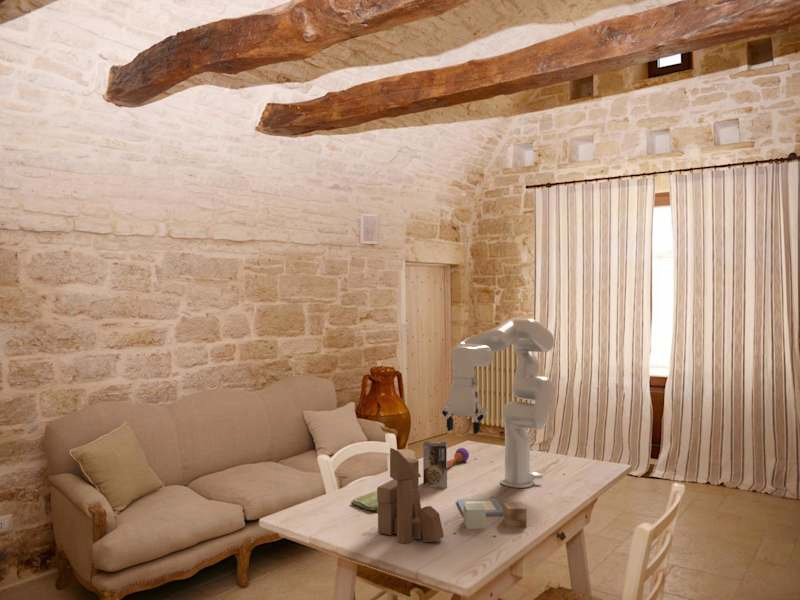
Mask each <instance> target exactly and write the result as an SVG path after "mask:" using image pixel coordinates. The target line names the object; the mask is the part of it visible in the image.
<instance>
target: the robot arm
mask: <svg viewBox="0 0 800 600" xmlns="http://www.w3.org/2000/svg"><path fill="white" fill-rule="evenodd" d="M552 333H553V332H551V331H550V330H549V329H548V328H547V327H545V326H544V325H543V324H542V323H540V322H539V321H537V320H536V319H533V318H523V317H522V318H519V317H518V318H516V317H515V318H514V317H513V318H509V319H506V320H505V321H504V322H502V323H500V324H499V325H497V326H496V327H495V328H493V329H491V330H488V331H484V332H481V333H478V334H475V335H472V336H469V337H467V338H464V339H463V340H461V341H460V342H459V343H458V344H456V345H455V346H454V348H453V349H452V380H451V381H452V382H451V383H452V385H450V387H449V394H448V401H446V402H445V403H443V404H440V405H439V408H440V410H441V413H442V415H443V416H444V418H445V420H446V429H447V432H450V431H452V430H454V418H453V416H455V415H456V416H464V417H465V416H466V417H471V418H472V419H473V421H474V422H473V423H472V424H473V427H472V428H473V429H472V430H473V431H472V433H473V434H474V435H477V434H479V432H480V430H481V429H480V428H481V421H482V420H483V419H484V418H485V417H486V414H487V413H488V409H487V408H485V407H484V406H482V405H481V404H480V400H479V392H478V387H477V386H476V385H478V383H479V380H478V379H476V377H475V367H487V366H489V365H490V364H491V363H492V361H493V360H494V353H497V352H502V351H504V350H506V349H508V348H509V347H510V346H512V347H513V349H514V351H515V354H516V358H517V366H516V371H515V375H514V379H513V382H512V383H513V384H512V395H513V397H515V398H518V399H520V400H525V401H526V400H527V401H534V403H531V402H525V401H517V400H516V401H515V400H514V401H513V400H511V401H508V402H506V403H505V404H504V406H503V408H502V413H501V414H502V420H503V426H504V476H503V477H501V478H500V483H501V484H502V485H503V486H506V487H510V488H515V489H519V488H520V489H521V488H522V489H523V488H530V487H533V486H534V484H535V481H534V480H536V479H537V480H542V479H543V474H542V473H538V472H532V471H531V439H530V438H531V437H530V434H529V431H528V430H527V429H530V430H538V431H539V430H543V429H544V428H545V427H546V426H547V424H548V420H549V415H550V411H551V407H552V401H553V396H554V385H553V382H552V380H551V379H550V378H549V377H545V376H539V370H540V363H539V360H538V358H537V355H536V354H535V353H548V352H550V351H551V350H552V349H553V348H554V346H555V339H554V336H553V334H552ZM534 352H535V353H534ZM447 409H448V410H447ZM480 412H481V413H480ZM479 413H480V415H479Z"/></svg>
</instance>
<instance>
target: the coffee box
mask: <svg viewBox="0 0 800 600" xmlns="http://www.w3.org/2000/svg"><path fill="white" fill-rule="evenodd" d="M422 459H423V461H422V462H423V463H422V465H423V466H422V467H423V468H422V470H423V473H422V474H423V475H422V476H423V480H422V482H423V485H422V486H423V488H437V487H439V489H440V488H443V489H446V488H448V469H447V461H448V443H447V441H423V445H422Z"/></svg>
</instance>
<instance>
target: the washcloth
mask: <svg viewBox="0 0 800 600" xmlns="http://www.w3.org/2000/svg"><path fill="white" fill-rule="evenodd" d="M350 504H351V505H353V506H356V505H357V506H356V507H359V506H360V507H359V508H363V509H366V510H370V511H372V510H373V511H372V512H375V513H378V502H377V490H375V491H372V492H369V493H367V494H364V495H360V496H357V497H355V498H354V499H352V501H351V502H350Z"/></svg>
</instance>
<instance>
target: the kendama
mask: <svg viewBox="0 0 800 600" xmlns="http://www.w3.org/2000/svg"><path fill="white" fill-rule="evenodd" d="M469 457H470V453H469V451H468V449H466V448H465V447H459V448H458V449H457V450H455V454H454V456H453V458H452V459H450V460H447V470H449V468H450V467H452V465H453V464H454V463H456V462H457V463H460V462H461V463H465V462H466V461H467V460H469Z"/></svg>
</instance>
